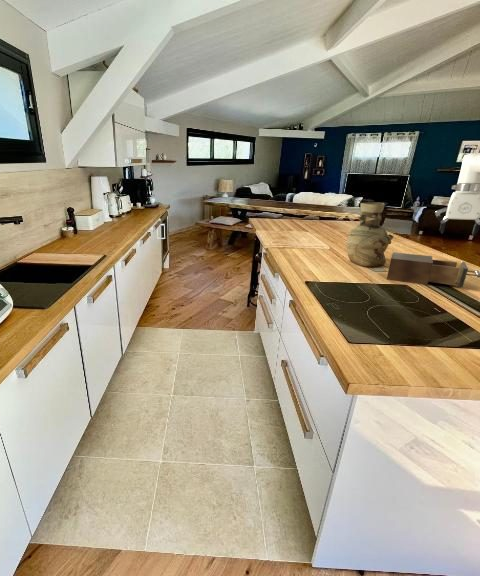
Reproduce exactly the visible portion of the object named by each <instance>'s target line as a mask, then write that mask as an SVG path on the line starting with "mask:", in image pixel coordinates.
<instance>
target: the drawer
mask: <svg viewBox="0 0 480 576" xmlns="http://www.w3.org/2000/svg"><path fill="white" fill-rule="evenodd" d="M432 260H433V265H432V269H431V273H430V277H429V281H428V283H434V284H441V285H442V284H443V285H450V286H455V285H456V284H457V286H458V288H461V289H462V288H463V287H464V284H465V281H466V277H467V276H470V277H476V278H478V279H480V270H478V269H476V270H469V268H468V266H467V264H466V262H465V261H460V264H459V267H457V266H458V261H450V260H441V259H433V258H432Z"/></svg>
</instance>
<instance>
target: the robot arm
mask: <svg viewBox="0 0 480 576" xmlns="http://www.w3.org/2000/svg"><path fill="white" fill-rule="evenodd" d="M451 190H455V191H453V192H452V194H451V196H450V199H449V201H448V205H447V207H443V208H440V209H438V210H436V211H435V212H434V214H435V216H436V219H437V220H438V222H440V227H439V232H440V233H441V234H442V235H443V234H444V233H445V229H446V225H447V223H446V222H448V221H449V220H467V221H474V222H475V223H474V225H473V229H472V232H471V234H472V236H476V235H477V234H479V232H480V231H479V230H480V152H472V153H471V152H470V153H467V154H465V155H464V157H463V159H462V163H461V168H460V172H459V176H458V179H457V183H456V184H454V185H451ZM442 213H445V216H444V217H442V216H441V214H442Z"/></svg>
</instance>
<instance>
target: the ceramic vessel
mask: <svg viewBox="0 0 480 576" xmlns="http://www.w3.org/2000/svg"><path fill="white" fill-rule="evenodd" d="M384 208H385V203H384V202H360V212H361V213H360V217H359V225H356V226H355V227H353V228H352V229H351V230H350V231H349V233H348V236H347V239H346V253H347V258H348V259H349V261H350V262H351V263H352V264H355V265H358V266H360V267H364V268H374V267H381V266H382V267H383V266H384V265H385V264H386V263H387V259H386V255H385V252H386V250H388V247H389V245H391V244H392V240H393V239H394V235H392V234H388V232H387V230H386V229H385V228H384V227H382V226H381V222H382V213H383V212H384Z"/></svg>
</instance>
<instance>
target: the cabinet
mask: <svg viewBox="0 0 480 576" xmlns="http://www.w3.org/2000/svg"><path fill="white" fill-rule="evenodd" d="M432 259H433V256H432V255H423V254H414V253H406V252H405V253H403V252H395V251H394V252H392V254H391V257H390V262H389V266H388V271H387V275H386V281H387V280H388V281H395V282H402V283H409V284H416V285H421V286H422V285H423V286H428V285H429V282H428V281H429V277H430V273H431V269H432V265H433V260H434V259H433V260H432Z"/></svg>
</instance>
